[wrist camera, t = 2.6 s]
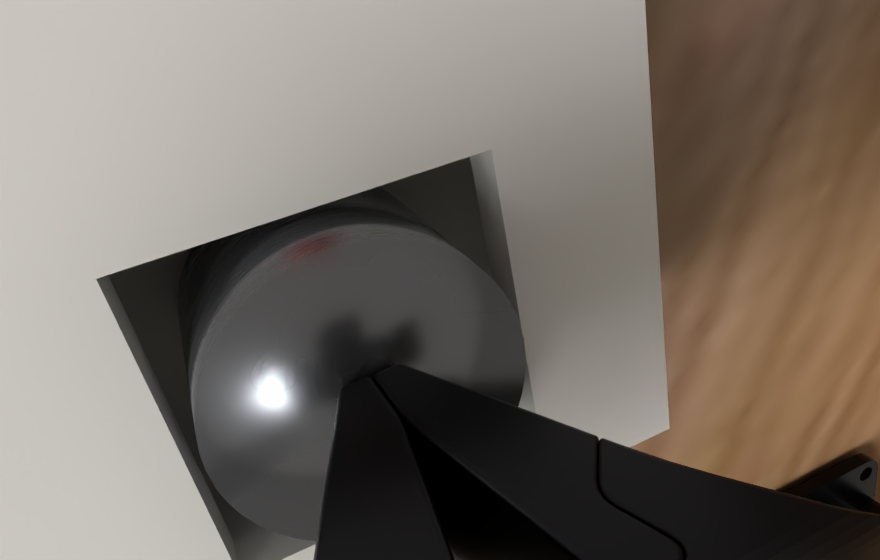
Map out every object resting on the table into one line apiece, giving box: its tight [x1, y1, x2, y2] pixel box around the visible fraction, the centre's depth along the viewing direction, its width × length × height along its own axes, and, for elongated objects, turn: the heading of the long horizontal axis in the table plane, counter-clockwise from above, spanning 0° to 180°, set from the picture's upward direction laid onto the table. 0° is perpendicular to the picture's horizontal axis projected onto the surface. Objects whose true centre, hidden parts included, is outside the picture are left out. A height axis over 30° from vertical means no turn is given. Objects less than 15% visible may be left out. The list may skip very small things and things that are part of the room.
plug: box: [178, 186, 526, 541], centre depth 11 cm, size 4×4×3 cm
